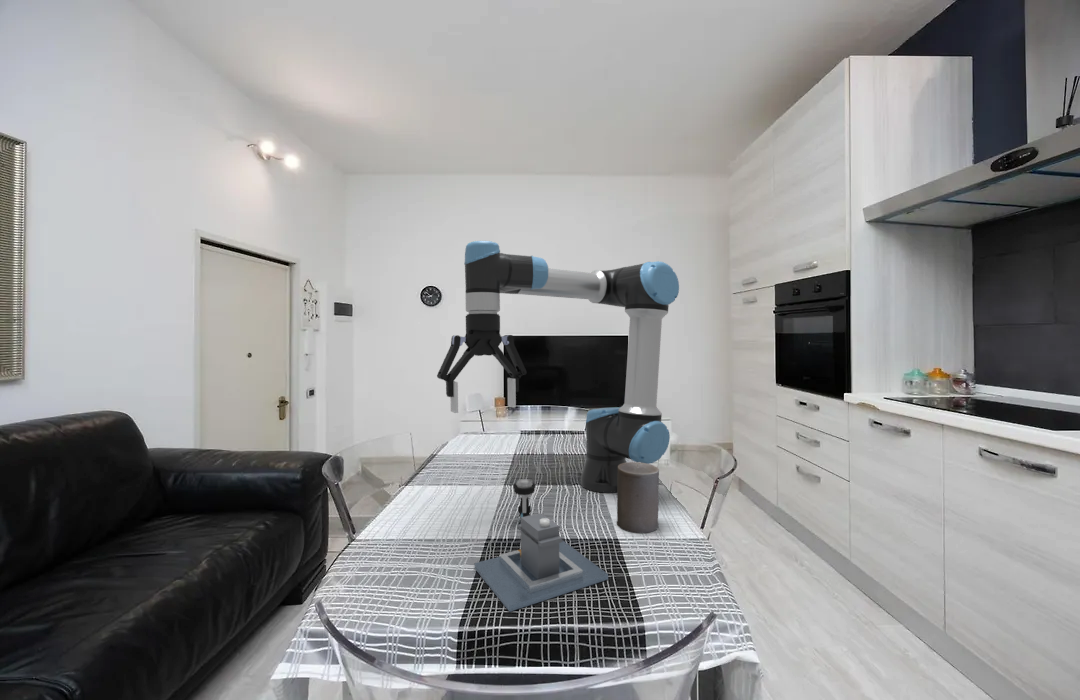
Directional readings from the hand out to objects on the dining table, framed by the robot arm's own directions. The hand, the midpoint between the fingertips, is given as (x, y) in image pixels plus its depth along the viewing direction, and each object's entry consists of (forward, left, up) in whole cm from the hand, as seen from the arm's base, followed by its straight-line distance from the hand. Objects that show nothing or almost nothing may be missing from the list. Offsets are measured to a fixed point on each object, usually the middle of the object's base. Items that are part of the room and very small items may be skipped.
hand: (484, 409), depth 101 cm
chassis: (-3, +20, -29) cm, 35 cm away
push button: (-11, -2, -29) cm, 31 cm away
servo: (-3, +20, -28) cm, 34 cm away
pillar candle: (-34, +12, -29) cm, 46 cm away
